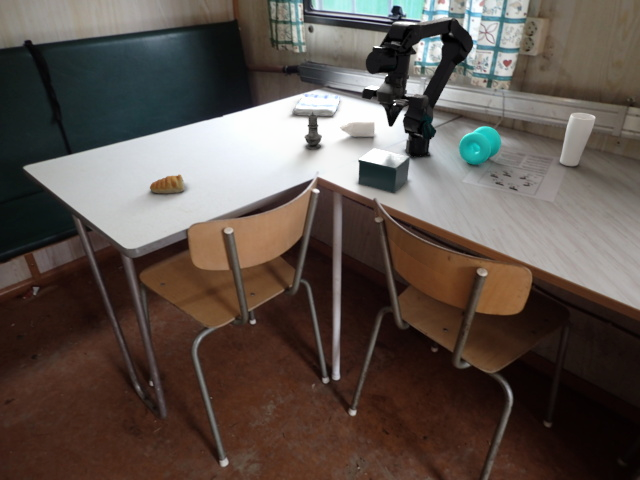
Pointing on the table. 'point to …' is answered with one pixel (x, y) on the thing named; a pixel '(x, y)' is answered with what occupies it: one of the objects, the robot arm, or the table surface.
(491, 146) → the donuts
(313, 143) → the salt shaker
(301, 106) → the dish towel
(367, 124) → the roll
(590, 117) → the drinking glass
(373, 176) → the open-top green box
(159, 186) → the pastry
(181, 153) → the table surface
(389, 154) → the green box lid
